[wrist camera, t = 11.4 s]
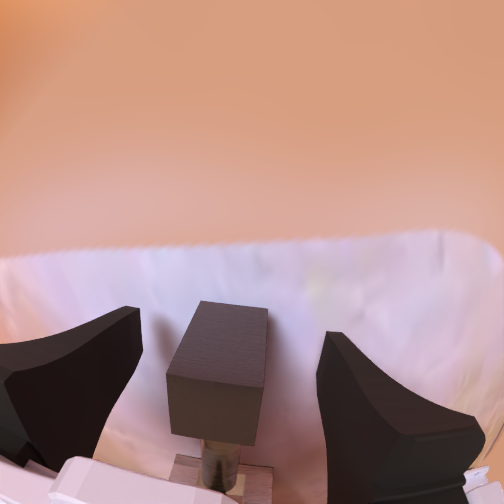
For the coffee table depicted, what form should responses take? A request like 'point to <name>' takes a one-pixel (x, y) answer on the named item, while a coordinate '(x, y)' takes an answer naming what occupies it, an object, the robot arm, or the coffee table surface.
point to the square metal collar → (247, 485)
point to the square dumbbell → (219, 386)
